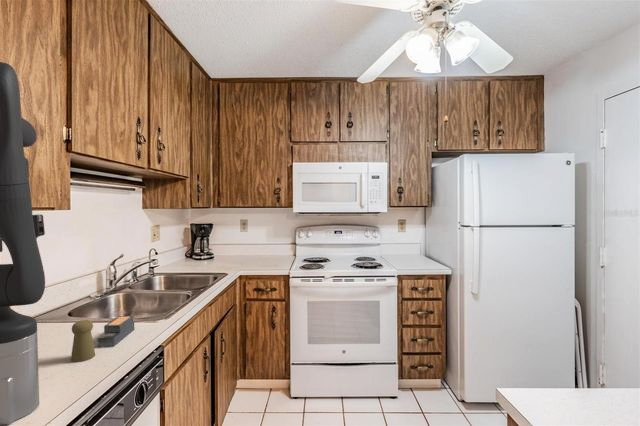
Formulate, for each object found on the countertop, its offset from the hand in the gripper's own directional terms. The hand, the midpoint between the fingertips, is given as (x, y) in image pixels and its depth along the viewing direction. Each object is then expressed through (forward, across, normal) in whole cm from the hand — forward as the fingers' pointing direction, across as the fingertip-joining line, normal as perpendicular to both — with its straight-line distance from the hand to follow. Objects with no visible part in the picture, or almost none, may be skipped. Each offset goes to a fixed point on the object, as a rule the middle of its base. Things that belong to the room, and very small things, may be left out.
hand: (14, 252), depth 91 cm
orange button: (+30, +16, +22) cm, 40 cm away
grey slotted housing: (+33, +16, +20) cm, 42 cm away
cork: (+33, +14, +6) cm, 36 cm away
